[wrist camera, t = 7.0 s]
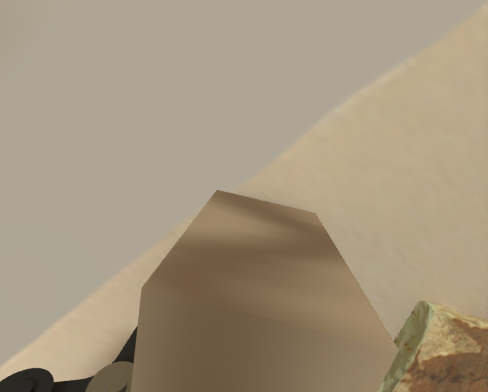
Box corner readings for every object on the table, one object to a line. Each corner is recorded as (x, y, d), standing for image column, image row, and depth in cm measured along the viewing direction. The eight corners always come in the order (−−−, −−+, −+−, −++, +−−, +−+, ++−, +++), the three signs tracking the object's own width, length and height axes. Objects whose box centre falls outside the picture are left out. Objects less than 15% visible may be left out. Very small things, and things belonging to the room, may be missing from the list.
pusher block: (315, 213, 9) (398, 350, 4) (257, 389, 12) (250, 624, 6) (217, 189, 9) (141, 288, 4) (182, 370, 12) (109, 586, 6)
